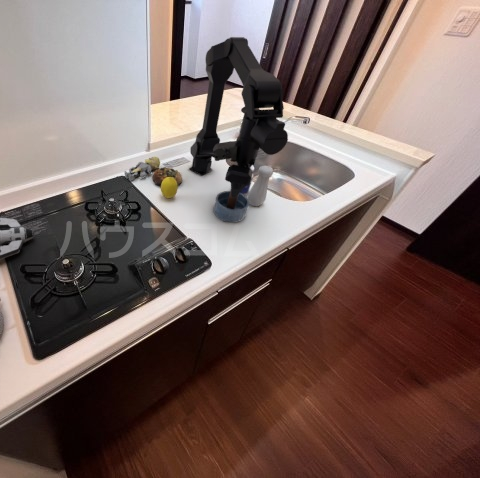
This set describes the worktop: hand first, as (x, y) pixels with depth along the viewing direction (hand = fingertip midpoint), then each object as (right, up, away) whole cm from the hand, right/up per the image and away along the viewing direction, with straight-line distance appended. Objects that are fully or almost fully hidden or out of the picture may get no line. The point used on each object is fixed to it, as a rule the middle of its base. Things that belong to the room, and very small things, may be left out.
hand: (235, 188), depth 76 cm
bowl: (0, -6, +6) cm, 9 cm away
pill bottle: (+6, +2, +15) cm, 17 cm away
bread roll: (-20, +7, +19) cm, 28 cm away
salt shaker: (+9, -3, +11) cm, 15 cm away
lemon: (-20, -1, +11) cm, 23 cm away
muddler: (0, -6, +6) cm, 8 cm away
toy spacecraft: (-70, -19, -8) cm, 73 cm away
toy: (-34, +8, +17) cm, 39 cm away
